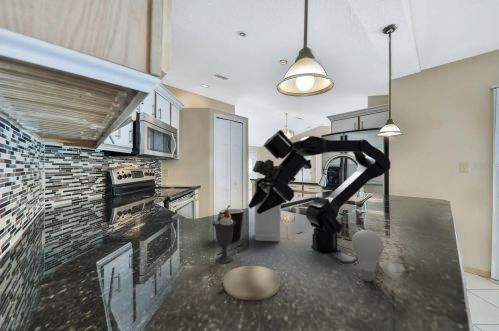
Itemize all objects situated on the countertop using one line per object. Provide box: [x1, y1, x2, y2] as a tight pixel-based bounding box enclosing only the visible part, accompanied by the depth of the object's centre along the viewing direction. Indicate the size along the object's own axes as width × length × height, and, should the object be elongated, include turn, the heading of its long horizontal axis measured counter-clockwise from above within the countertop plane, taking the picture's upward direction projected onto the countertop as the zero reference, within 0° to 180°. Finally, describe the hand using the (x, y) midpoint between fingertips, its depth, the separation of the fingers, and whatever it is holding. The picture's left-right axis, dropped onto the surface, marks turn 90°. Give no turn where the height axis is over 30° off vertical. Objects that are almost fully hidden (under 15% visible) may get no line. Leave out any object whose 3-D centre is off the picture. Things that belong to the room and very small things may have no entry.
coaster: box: [222, 265, 281, 301], centre depth 46 cm, size 12×12×1 cm
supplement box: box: [254, 202, 282, 243], centre depth 79 cm, size 9×9×15 cm
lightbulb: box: [351, 229, 384, 282], centre depth 47 cm, size 6×6×11 cm
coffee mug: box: [218, 208, 244, 243], centre depth 78 cm, size 12×9×10 cm
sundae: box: [211, 204, 237, 264], centre depth 59 cm, size 7×7×15 cm
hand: (253, 209), depth 61 cm, fingers open, 9 cm apart
